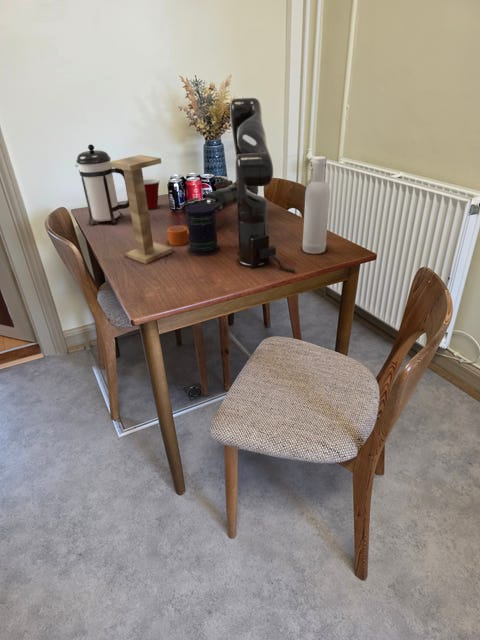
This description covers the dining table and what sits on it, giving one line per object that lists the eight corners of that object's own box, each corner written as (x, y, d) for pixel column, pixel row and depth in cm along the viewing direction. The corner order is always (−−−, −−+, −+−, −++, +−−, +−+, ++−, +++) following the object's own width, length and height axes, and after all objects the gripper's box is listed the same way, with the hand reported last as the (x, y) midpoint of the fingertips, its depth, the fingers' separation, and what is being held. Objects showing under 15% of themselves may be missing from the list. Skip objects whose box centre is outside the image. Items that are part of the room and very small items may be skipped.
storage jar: (192, 257, 141) (188, 213, 134) (187, 246, 150) (182, 205, 142) (221, 253, 144) (218, 210, 136) (214, 242, 152) (211, 201, 144)
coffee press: (97, 230, 167) (80, 150, 151) (82, 220, 178) (64, 144, 162) (136, 219, 176) (124, 143, 160) (119, 211, 187) (106, 138, 171)
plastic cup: (165, 203, 194) (162, 177, 188) (159, 211, 185) (156, 183, 179) (143, 204, 195) (139, 177, 189) (136, 211, 186) (131, 183, 180)
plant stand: (153, 245, 151) (139, 154, 135) (172, 251, 146) (160, 158, 129) (126, 256, 144) (108, 161, 127) (146, 263, 138) (129, 165, 122)
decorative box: (241, 199, 197) (240, 178, 191) (208, 209, 185) (207, 187, 180) (222, 194, 205) (221, 173, 200) (190, 203, 193) (188, 182, 188)
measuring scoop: (200, 227, 166) (199, 215, 163) (214, 231, 162) (213, 218, 159) (165, 242, 153) (163, 229, 151) (178, 247, 150) (176, 233, 147)
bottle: (318, 243, 148) (324, 153, 132) (330, 251, 142) (338, 158, 126) (298, 247, 146) (302, 156, 130) (309, 255, 139) (314, 161, 123)
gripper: (205, 187, 166) (175, 197, 155) (233, 192, 158) (203, 203, 147) (206, 206, 170) (177, 217, 159) (234, 212, 162) (205, 224, 151)
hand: (190, 210), depth 153 cm, fingers open, 8 cm apart
